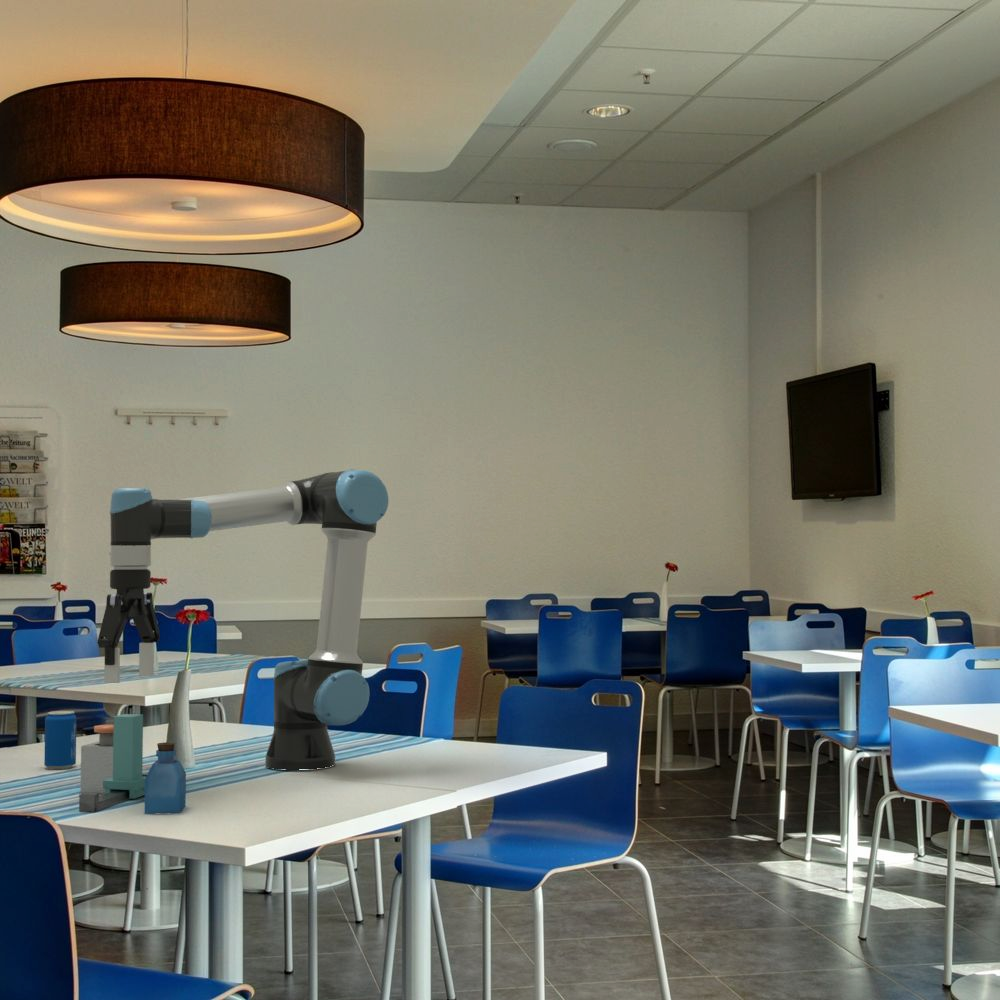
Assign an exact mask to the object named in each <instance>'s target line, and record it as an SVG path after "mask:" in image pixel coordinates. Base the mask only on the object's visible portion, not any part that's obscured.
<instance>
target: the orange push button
mask: <svg viewBox="0 0 1000 1000" xmlns="http://www.w3.org/2000/svg"><path fill="white" fill-rule="evenodd" d="M93 732H94V733H97V734H99V735H98V737H99V739H98V741H99V745H103V746H112V745H113V733H114V724H100V725H94V726H93Z"/></svg>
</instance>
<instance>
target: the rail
mask: <svg viewBox="0 0 1000 1000" xmlns="http://www.w3.org/2000/svg"><path fill="white" fill-rule="evenodd" d="M147 774H148V772H147V773H146V772H142V777H146V776H147ZM129 791H130V790H121V789H118V790H115V791H112V792H109V793H106V794H98V793H79V799H78V801H79V802H78V808H79V809H78V811H79V810H80V811H79V812H84V811H91V812H90V813H96V812H99V811H101V810H103V809H106V808H110V807H111V806H115V805H117V804H119V803H122V802H125V801H127V800H130V799H131V798H129Z"/></svg>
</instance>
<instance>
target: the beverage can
mask: <svg viewBox="0 0 1000 1000" xmlns="http://www.w3.org/2000/svg"><path fill="white" fill-rule="evenodd" d="M76 761H77V716H76V715H75V711H73V710H56V711H55V710H54V711H49V712H47V715H46V717H45V719H44V762H43V763H44V766H45V767H46V768H47V769H48V770H56V771H57V770H60V771H61V770H68V769H69V770H70V769H72V768H73V766H75V765H76V763H77V762H76Z"/></svg>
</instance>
